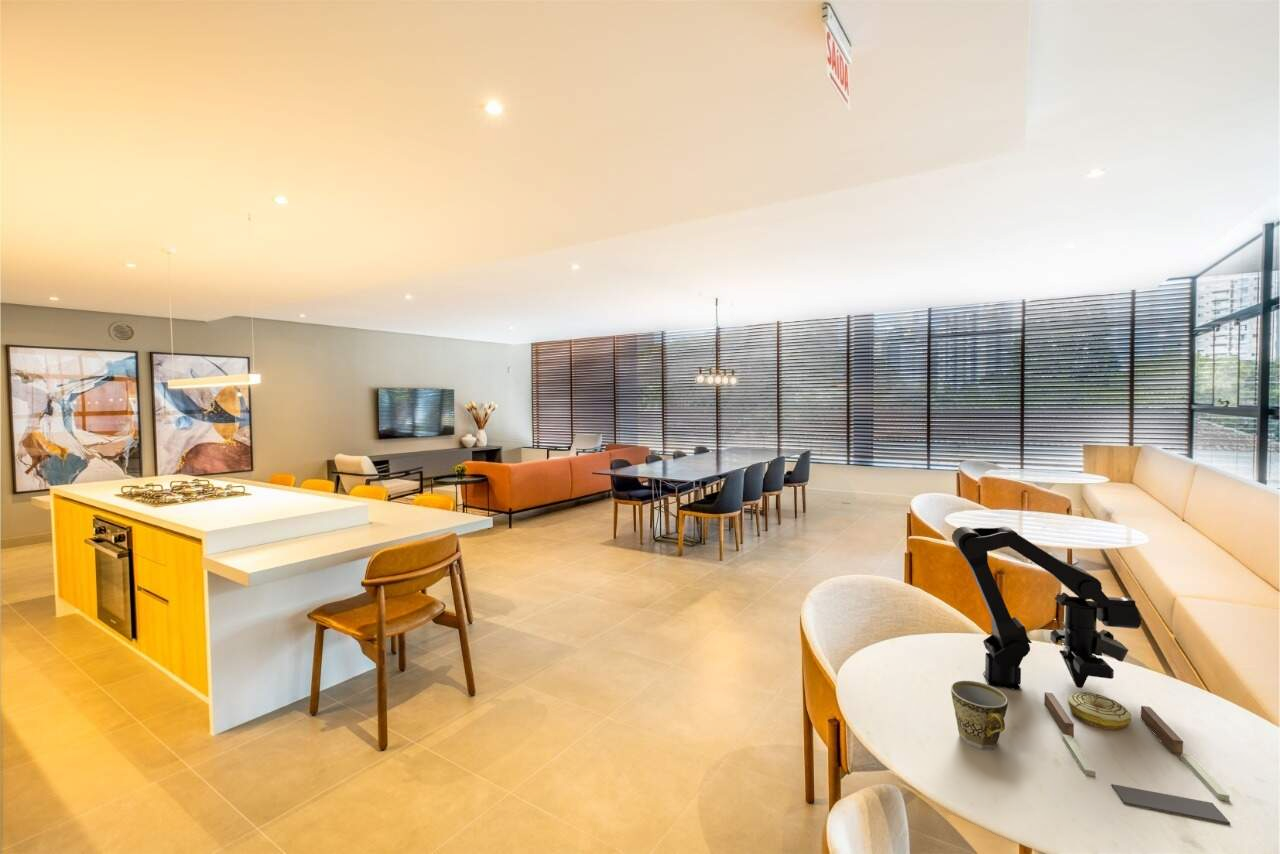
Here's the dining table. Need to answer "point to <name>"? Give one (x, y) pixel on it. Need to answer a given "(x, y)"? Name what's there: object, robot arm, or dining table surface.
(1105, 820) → the dining table surface
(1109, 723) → the decorated donut
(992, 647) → the robot arm
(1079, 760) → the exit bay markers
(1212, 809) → the dark grey rectangular plate
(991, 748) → the ceramic cup
